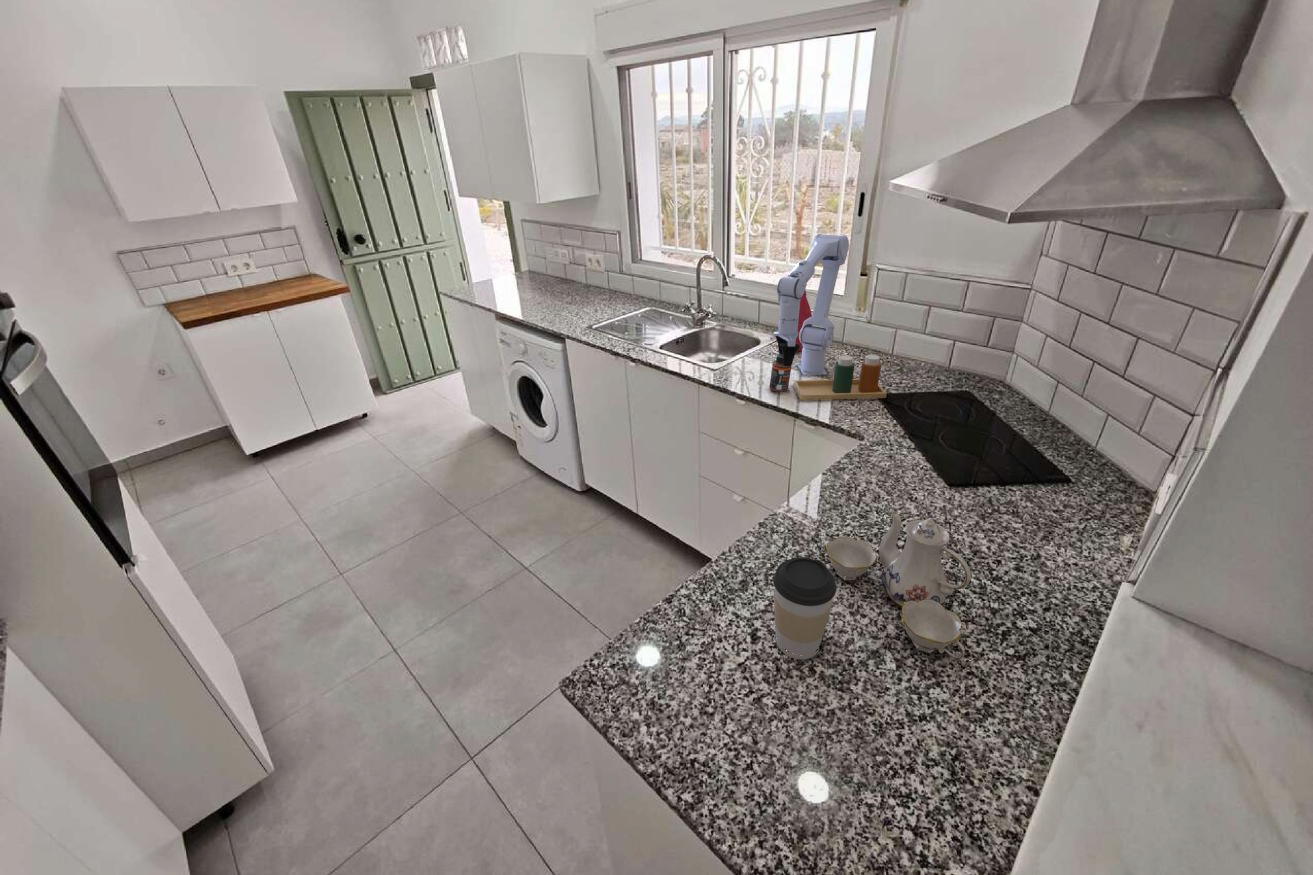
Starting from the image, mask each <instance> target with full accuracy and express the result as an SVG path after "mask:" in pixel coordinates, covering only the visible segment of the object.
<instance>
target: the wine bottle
mask: <svg viewBox="0 0 1313 875" xmlns="http://www.w3.org/2000/svg"><path fill="white" fill-rule="evenodd" d="M812 315H813V313H812V309H811V306H810V303H809V300H808V297H807V290H805V291H804V294H803V296H802V297H801V298H800V308H799V319H798V331H797V332H798V336H797V338H796V342H795V344H799V345H800V347H799V349H798V350H797V352H802V349H803V346H802V343H801V342H800V340H799V334H800V330H801V328H802V326H803V323H804V321H805V320H807V319H808V318H810V317H812Z"/></svg>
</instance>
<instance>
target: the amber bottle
mask: <svg viewBox="0 0 1313 875" xmlns="http://www.w3.org/2000/svg"><path fill="white" fill-rule="evenodd" d="M880 359H881V357H880V356H879V355H878V354H877V355H876V354H867V355H865V358H864V360H863V361H862V362H861V367H860V373H859V378H858V379H859V386H858V391H860V392H861V393H876V392H877V389H878V383H879V384H880V382H879V381H880V377H881V372H882V371H881V370H882V362H880Z"/></svg>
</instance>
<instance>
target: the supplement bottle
mask: <svg viewBox="0 0 1313 875" xmlns="http://www.w3.org/2000/svg"><path fill="white" fill-rule="evenodd" d="M792 365H793V364H792ZM792 365H791V366H784V363H783V354H779V353H777V354H776V358H775V360H774V361H773V362H772V364H771V372H770V379H769V390H770V391H773V392H775V393H785V392H787V391H788V390H789V385H790V378H791V373H792Z"/></svg>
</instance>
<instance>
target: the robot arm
mask: <svg viewBox="0 0 1313 875" xmlns="http://www.w3.org/2000/svg"><path fill="white" fill-rule="evenodd" d="M849 248H850V242H849V238H848V236H847V235H845V234H843V235H837V234H823V233H817V234H816V235H815V236H814V237H813V239H812V242H811V250H810V251H809V252H808V254H807V256H806V257H805V259H802V260H800V261H798V262H797V263H796V265H795V266H794V267H793V268H792V270H791V271H790V272H789V274H788V275H784V276H783V277H781V278H780V279H779V280H778V282H777V287H776V294H777V300H778V303H779V308H778V310H779V311H778V324H777V325H778V326H777V327H778V328H777V331H774V332H773V335H774V337H775V339H776V343H777V347H778V348H777V349H778V354H783V363H784V366H791V365H793V362H794V359H795V357H796V353H797V352H798V351H797V350H798V349H799V347H800V345H799V344H795V342H796V338H797V336H798V332H797V331H798V319H799V308H800V298H801V297H802V296H803V294H804V291H806V288H807V285H808V284H807V283H809V281H810V280H811V278H812V277H813V276H814V274H815V273H816V266H818V264H821V265H822V271H821V275H820V280H819V284H818V287H817V288H818V289H817V294H816V296H815V302H814V306H813V309H812V310H813V311H812V317H810V318H808V319H807V320H805V321H804V323H803V326H802V328H801V330H800V334H799V340H800V342H801V343H802V346H803V349H802V351H801V357H800V358H801V359H800V364H797V367H798V369H799V370H800V371H801V373H802V376H813V375H814V376H815V375H819V376H821V375H828V372H827V371H826V369H825V362H826V361H825V360H826V354H827V349H828V348H829V347H831V345H832V343H833V341H834V330H835V325H834V323H833V322H832V321H831V320H830V319H829V314H830V310H831V305H832V300H833V296H834V293H835V292H834V291H835V287H836V284H837V279H838V275H839V270H840V266H843V265H844V264H846V261H847V257H848V252H849ZM791 367H792V366H791Z"/></svg>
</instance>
